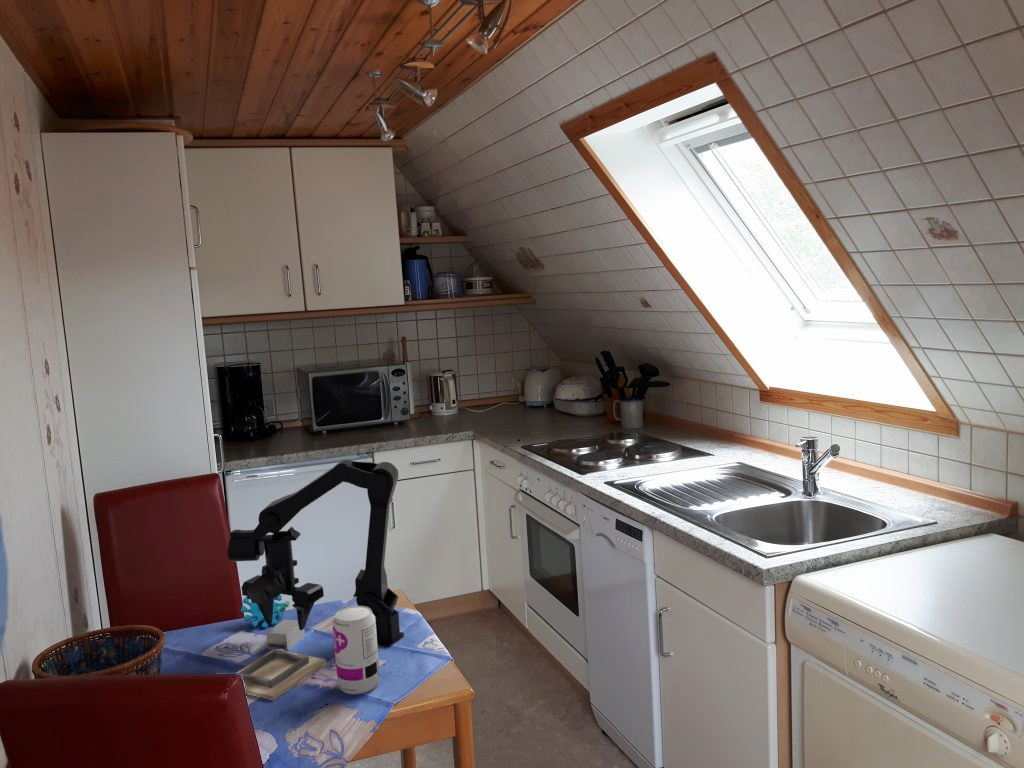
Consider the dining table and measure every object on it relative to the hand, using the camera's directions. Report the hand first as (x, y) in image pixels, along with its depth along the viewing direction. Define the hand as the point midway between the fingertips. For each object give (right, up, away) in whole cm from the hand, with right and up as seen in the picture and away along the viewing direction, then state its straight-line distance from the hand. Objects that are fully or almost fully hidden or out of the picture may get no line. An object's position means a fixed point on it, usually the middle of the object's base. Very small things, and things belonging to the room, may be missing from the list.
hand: (285, 626), depth 184 cm
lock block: (0, -4, +1) cm, 4 cm away
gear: (-8, -3, +12) cm, 15 cm away
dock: (+2, -6, -14) cm, 16 cm away
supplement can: (+20, -6, -20) cm, 29 cm away
